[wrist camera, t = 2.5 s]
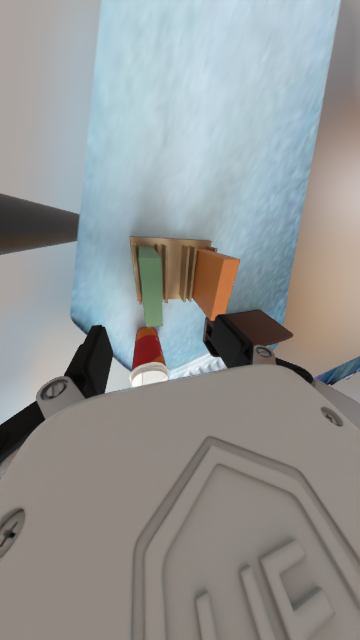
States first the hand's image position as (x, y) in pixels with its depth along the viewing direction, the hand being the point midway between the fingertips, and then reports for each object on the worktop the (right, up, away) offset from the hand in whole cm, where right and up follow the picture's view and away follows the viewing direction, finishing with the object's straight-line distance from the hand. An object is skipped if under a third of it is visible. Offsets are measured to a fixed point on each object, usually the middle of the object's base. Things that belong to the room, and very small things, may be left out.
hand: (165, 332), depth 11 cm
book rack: (-1, +12, +19) cm, 23 cm away
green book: (-6, +11, +17) cm, 21 cm away
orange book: (+5, +12, +20) cm, 24 cm away
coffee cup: (-8, -3, +28) cm, 29 cm away
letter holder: (+19, -1, +34) cm, 39 cm away
